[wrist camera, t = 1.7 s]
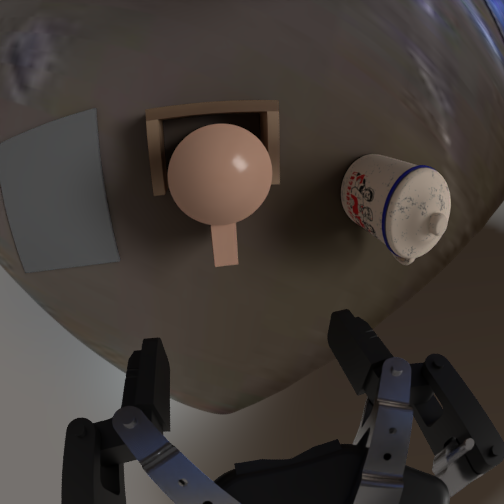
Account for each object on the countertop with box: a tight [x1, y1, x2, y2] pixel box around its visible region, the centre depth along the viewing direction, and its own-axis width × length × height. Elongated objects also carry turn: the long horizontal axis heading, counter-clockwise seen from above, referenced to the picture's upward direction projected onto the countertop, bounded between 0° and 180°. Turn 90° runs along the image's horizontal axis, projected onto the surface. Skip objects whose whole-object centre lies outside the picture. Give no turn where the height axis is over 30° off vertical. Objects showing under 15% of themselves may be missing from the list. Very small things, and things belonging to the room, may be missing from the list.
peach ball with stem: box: [168, 124, 272, 267], centre depth 22 cm, size 10×7×8 cm, turn 2°
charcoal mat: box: [0, 108, 120, 273], centre depth 22 cm, size 16×14×1 cm
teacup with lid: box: [341, 154, 451, 265], centre depth 24 cm, size 12×9×12 cm
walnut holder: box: [145, 100, 280, 196], centre depth 22 cm, size 8×11×3 cm
